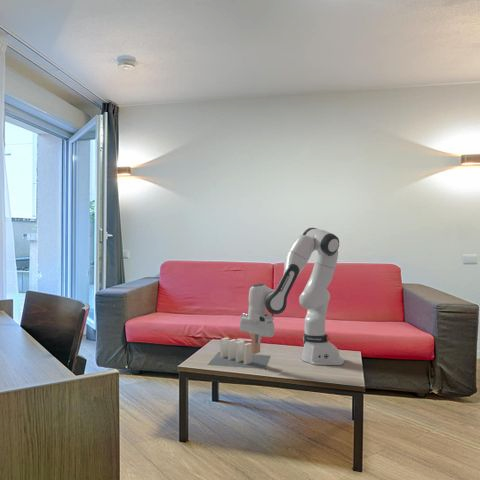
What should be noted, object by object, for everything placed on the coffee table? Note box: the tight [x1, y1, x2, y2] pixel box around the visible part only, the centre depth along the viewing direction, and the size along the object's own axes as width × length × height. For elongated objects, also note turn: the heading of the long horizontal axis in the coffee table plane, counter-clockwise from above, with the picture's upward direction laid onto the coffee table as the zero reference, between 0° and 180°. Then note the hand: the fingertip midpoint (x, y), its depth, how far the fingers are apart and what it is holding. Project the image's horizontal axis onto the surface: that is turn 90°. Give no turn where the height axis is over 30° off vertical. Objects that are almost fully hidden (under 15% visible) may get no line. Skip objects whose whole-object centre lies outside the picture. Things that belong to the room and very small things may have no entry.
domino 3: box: [236, 341, 244, 362], centre depth 202 cm, size 2×5×10 cm, turn 139°
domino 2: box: [228, 338, 237, 360], centre depth 205 cm, size 2×5×10 cm, turn 140°
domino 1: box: [220, 337, 230, 358], centre depth 209 cm, size 2×5×10 cm, turn 139°
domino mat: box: [207, 352, 271, 370], centre depth 203 cm, size 30×23×1 cm
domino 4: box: [244, 343, 253, 364], centre depth 198 cm, size 2×5×10 cm, turn 139°
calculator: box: [236, 337, 252, 344], centre depth 230 cm, size 11×4×15 cm
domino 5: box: [252, 334, 261, 355], centre depth 195 cm, size 2×5×10 cm, turn 140°
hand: (256, 342), depth 194 cm, fingers closed on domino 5, 2 cm apart
